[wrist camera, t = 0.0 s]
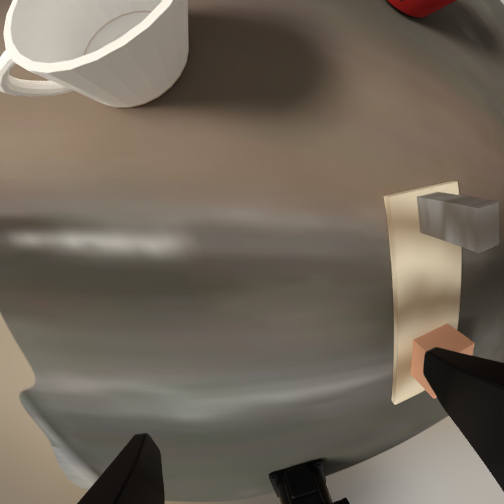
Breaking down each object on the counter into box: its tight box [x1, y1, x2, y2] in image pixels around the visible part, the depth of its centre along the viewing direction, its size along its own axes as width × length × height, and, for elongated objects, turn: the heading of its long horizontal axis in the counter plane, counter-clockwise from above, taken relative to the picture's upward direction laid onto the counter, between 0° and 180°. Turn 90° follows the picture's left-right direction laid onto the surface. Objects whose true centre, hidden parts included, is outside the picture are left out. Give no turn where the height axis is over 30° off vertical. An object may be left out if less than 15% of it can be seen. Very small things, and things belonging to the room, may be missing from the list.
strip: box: [384, 181, 499, 405], centre depth 22 cm, size 22×8×8 cm, turn 13°
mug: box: [0, 0, 189, 108], centre depth 12 cm, size 11×9×10 cm
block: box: [411, 323, 475, 399], centre depth 24 cm, size 4×4×4 cm
